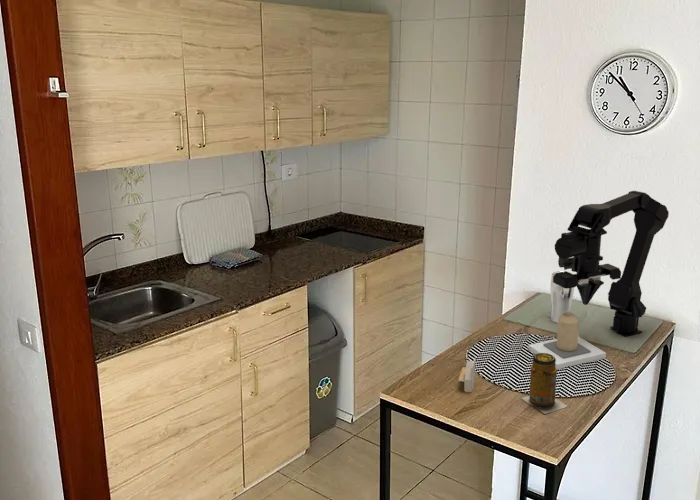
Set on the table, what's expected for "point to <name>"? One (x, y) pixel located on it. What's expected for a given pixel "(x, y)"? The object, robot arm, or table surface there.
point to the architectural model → (468, 376)
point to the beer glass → (560, 299)
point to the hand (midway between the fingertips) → (585, 304)
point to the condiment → (543, 384)
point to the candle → (567, 332)
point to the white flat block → (569, 353)
